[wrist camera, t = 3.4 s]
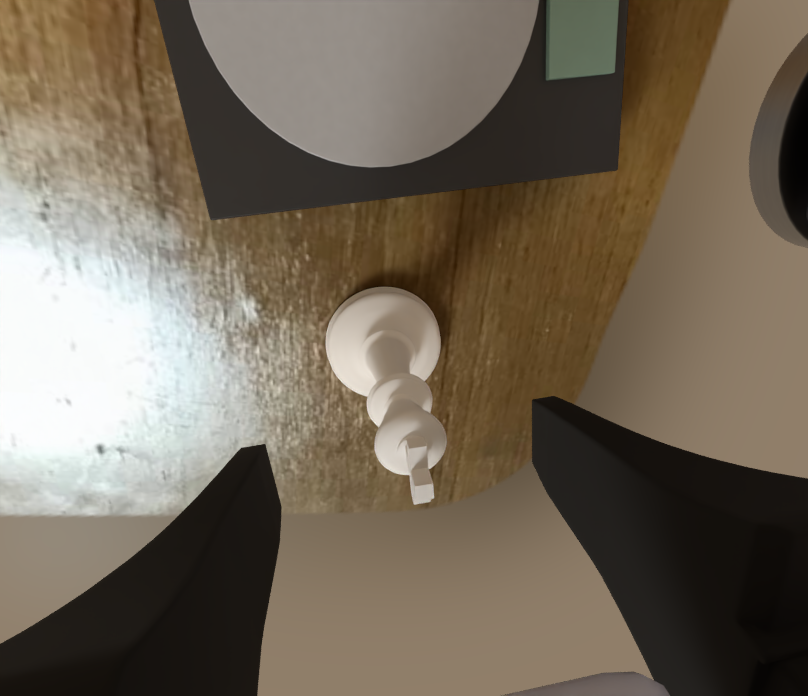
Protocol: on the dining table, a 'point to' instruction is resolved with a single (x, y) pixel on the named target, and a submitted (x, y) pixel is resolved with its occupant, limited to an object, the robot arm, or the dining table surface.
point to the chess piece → (392, 377)
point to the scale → (392, 96)
